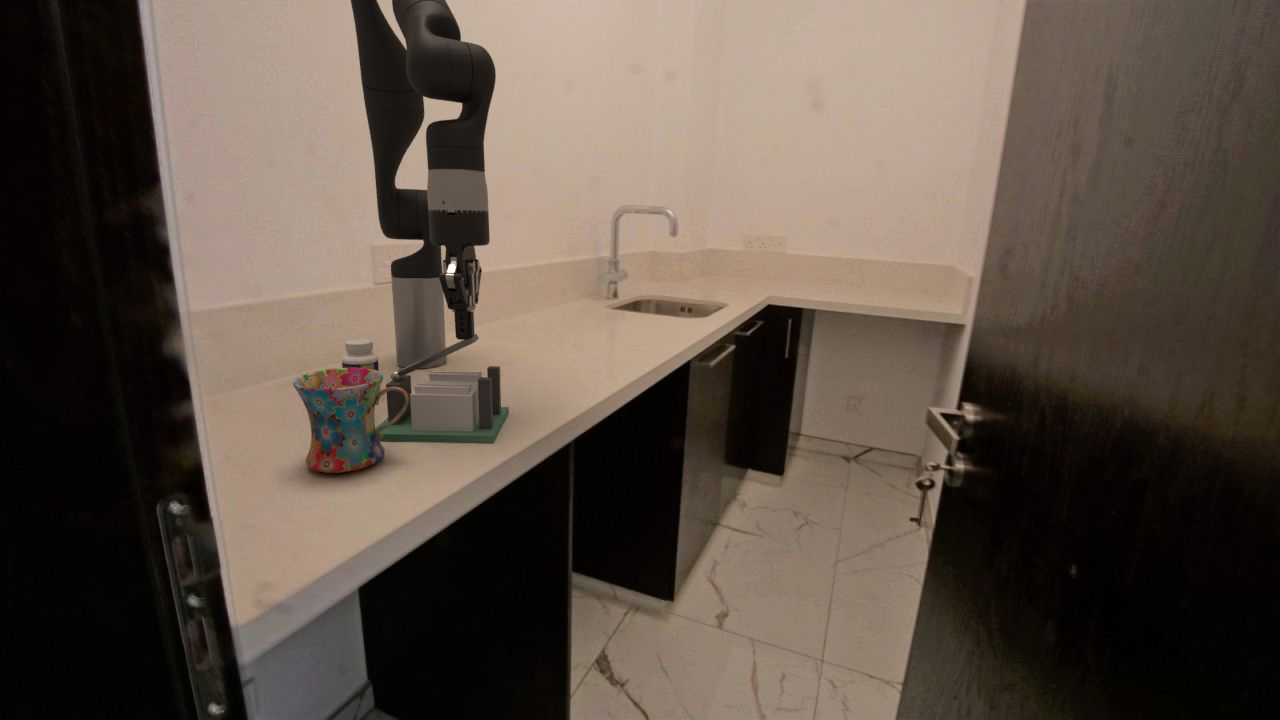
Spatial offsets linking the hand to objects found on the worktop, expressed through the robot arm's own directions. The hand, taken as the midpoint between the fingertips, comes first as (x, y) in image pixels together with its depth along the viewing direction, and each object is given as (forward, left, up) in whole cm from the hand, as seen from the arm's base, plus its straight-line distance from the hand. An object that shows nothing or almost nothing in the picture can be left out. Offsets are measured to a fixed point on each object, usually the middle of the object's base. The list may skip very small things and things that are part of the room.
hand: (465, 338), depth 80 cm
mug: (+13, -10, -13) cm, 21 cm away
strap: (0, -4, -3) cm, 5 cm away
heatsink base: (0, -3, -13) cm, 13 cm away
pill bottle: (-14, -20, -13) cm, 28 cm away
